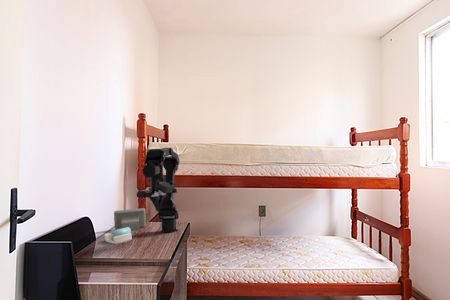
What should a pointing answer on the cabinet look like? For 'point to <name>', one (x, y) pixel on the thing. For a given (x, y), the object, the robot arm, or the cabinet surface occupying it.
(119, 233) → the bottle
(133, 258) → the cabinet surface
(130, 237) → the u rest
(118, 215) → the digital clock
